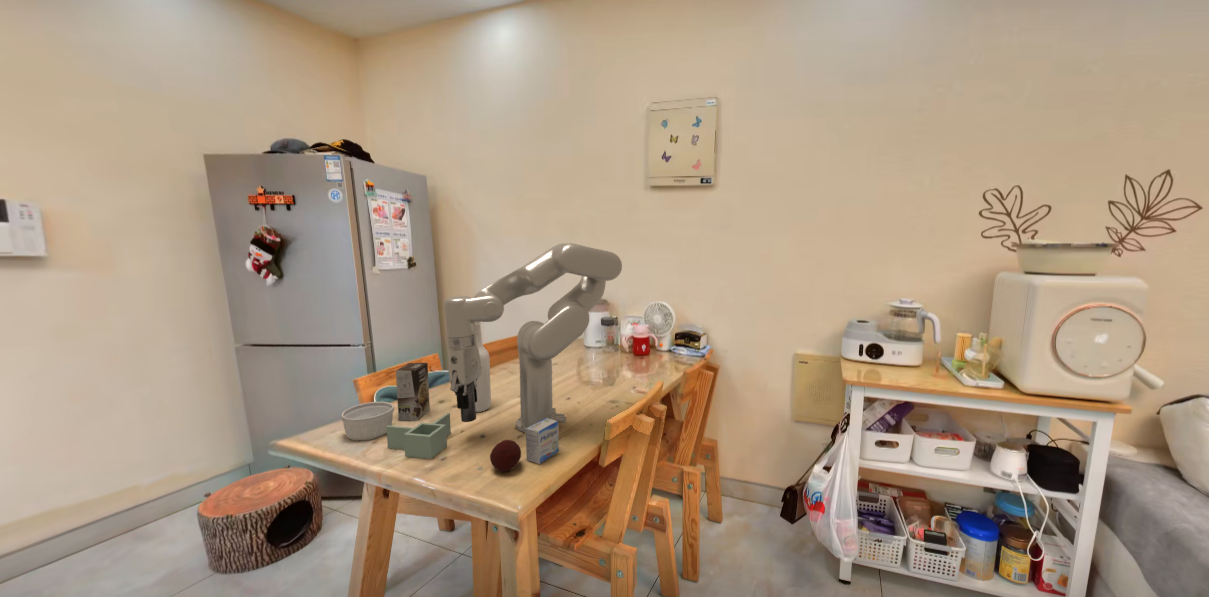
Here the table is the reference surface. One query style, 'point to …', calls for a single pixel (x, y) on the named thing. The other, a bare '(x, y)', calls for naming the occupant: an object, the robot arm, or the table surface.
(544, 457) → the medicine box
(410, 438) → the grey-green frame piece
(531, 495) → the table surface
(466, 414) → the cylindrical canister
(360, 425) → the ramekin
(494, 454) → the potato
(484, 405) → the alcohol
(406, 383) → the coffee box
